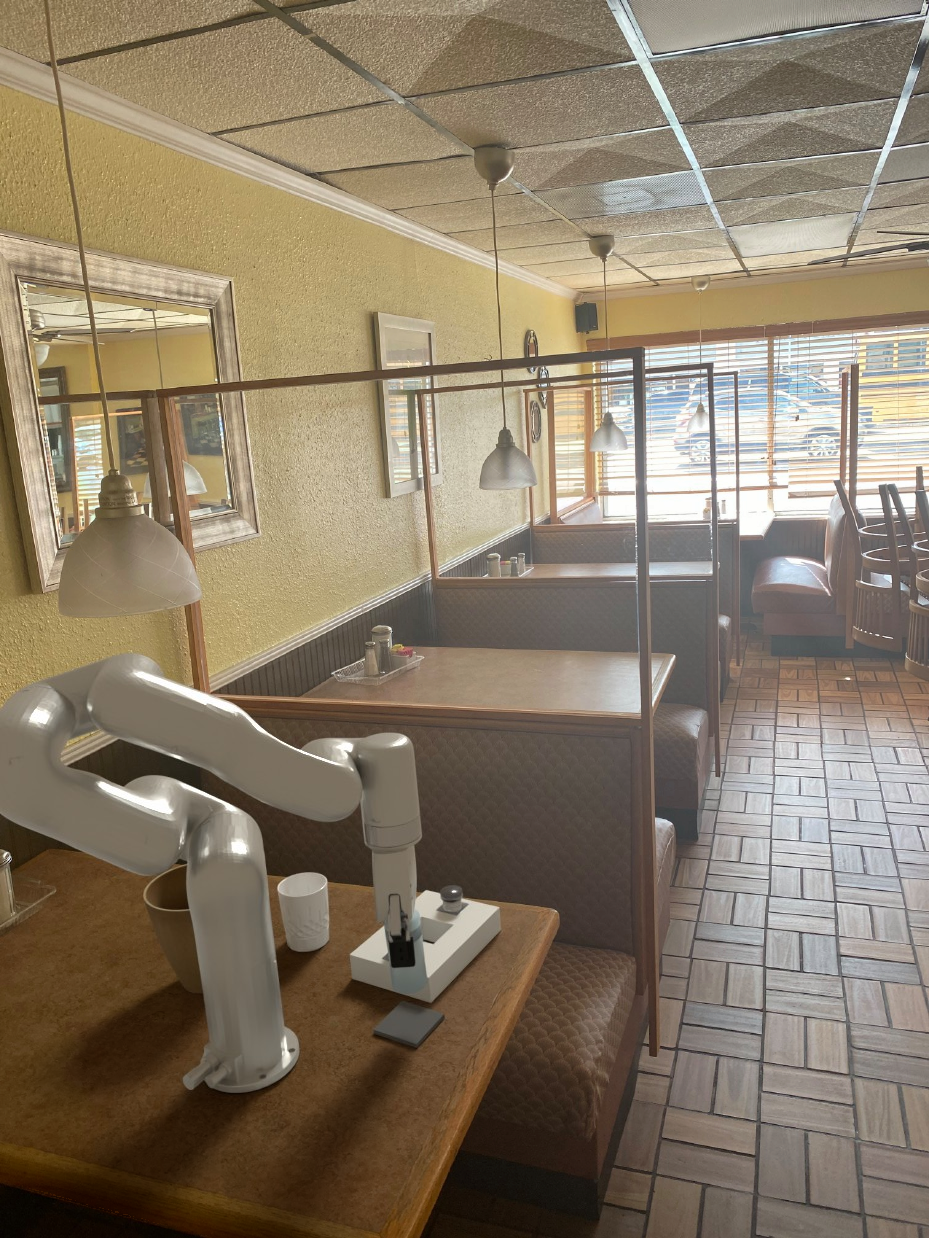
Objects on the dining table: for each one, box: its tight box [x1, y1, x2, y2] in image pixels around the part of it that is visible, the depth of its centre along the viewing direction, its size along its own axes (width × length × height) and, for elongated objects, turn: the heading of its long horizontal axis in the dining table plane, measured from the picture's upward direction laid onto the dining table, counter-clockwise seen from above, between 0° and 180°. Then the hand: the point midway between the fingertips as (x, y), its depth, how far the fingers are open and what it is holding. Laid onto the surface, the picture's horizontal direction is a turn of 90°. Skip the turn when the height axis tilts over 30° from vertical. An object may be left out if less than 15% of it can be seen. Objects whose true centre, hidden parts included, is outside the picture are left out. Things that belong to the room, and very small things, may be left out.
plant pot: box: [142, 863, 203, 994], centre depth 138 cm, size 15×15×16 cm
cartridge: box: [383, 909, 427, 995], centre depth 123 cm, size 5×5×10 cm
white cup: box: [276, 872, 330, 953], centre depth 147 cm, size 8×8×10 cm
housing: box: [349, 889, 502, 1004], centre depth 142 cm, size 21×14×4 cm, turn 150°
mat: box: [372, 1000, 445, 1049], centre depth 125 cm, size 7×7×1 cm
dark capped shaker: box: [439, 884, 464, 916], centre depth 148 cm, size 4×4×6 cm
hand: (404, 952), depth 123 cm, fingers closed on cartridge, 4 cm apart
